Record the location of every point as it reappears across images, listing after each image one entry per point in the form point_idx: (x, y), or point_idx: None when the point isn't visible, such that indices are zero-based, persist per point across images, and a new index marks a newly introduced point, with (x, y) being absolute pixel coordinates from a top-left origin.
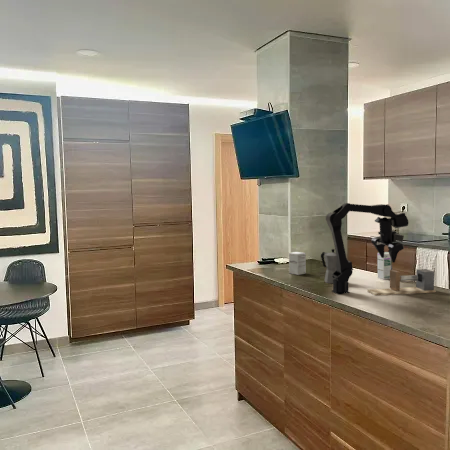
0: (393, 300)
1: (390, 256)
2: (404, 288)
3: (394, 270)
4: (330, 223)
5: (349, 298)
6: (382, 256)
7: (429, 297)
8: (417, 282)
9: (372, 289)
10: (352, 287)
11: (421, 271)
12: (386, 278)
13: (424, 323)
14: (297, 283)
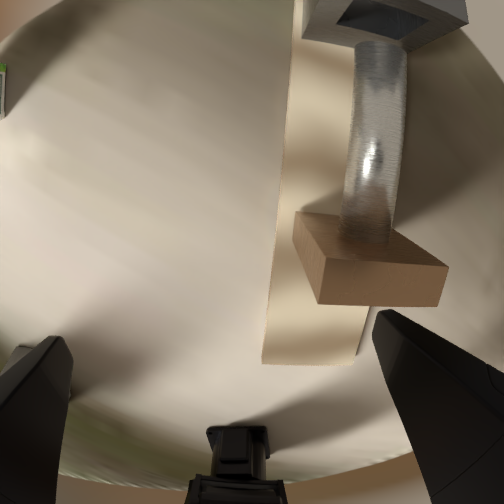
0: (450, 319)
1: (421, 448)
2: (309, 131)
3: (368, 276)
4: None
5: (340, 442)
6: (63, 370)
7: (476, 123)
8: (325, 27)
9: (267, 340)
10: (149, 372)
11: (425, 5)
12: (2, 99)
13: None
14: (81, 462)
